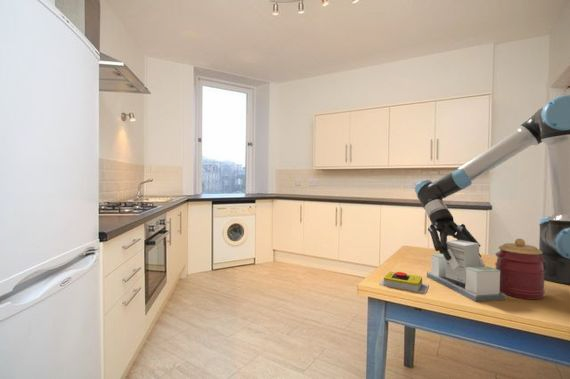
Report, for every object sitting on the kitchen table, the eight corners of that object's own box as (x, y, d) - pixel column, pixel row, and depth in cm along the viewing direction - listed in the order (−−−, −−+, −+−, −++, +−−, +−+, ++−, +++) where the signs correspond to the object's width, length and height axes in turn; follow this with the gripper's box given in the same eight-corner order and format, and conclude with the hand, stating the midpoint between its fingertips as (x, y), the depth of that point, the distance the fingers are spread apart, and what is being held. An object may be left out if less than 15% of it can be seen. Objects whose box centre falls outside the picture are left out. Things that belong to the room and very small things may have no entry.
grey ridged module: (458, 274, 108) (459, 239, 108) (479, 280, 102) (480, 243, 101) (444, 276, 105) (445, 240, 105) (464, 283, 99) (465, 245, 98)
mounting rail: (426, 276, 115) (426, 271, 115) (450, 275, 116) (450, 270, 116) (475, 301, 91) (475, 295, 91) (504, 299, 92) (505, 293, 92)
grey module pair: (430, 273, 114) (431, 254, 114) (450, 272, 115) (450, 253, 115) (476, 295, 92) (476, 271, 92) (499, 294, 93) (500, 270, 93)
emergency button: (385, 267, 113) (429, 274, 105) (385, 279, 113) (429, 286, 105) (378, 273, 105) (425, 281, 97) (378, 286, 105) (425, 295, 97)
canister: (496, 283, 108) (497, 233, 107) (544, 291, 100) (545, 238, 99) (492, 293, 98) (493, 239, 97) (545, 303, 90) (547, 244, 89)
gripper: (459, 219, 120) (491, 272, 104) (408, 220, 117) (434, 274, 101) (469, 207, 114) (505, 260, 99) (416, 208, 111) (445, 262, 96)
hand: (469, 267), depth 100 cm, fingers closed on grey ridged module, 9 cm apart
